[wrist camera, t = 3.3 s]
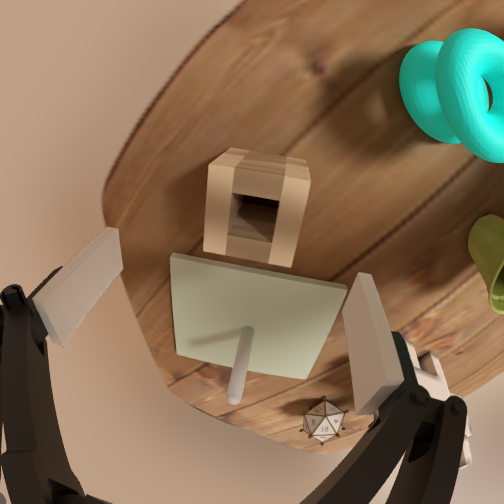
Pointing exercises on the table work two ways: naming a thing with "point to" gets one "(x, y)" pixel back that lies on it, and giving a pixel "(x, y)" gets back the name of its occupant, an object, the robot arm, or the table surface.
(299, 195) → the bead
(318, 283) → the stand
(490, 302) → the plant pot
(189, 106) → the table surface
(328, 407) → the game die
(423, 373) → the toy llama
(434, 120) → the donuts
